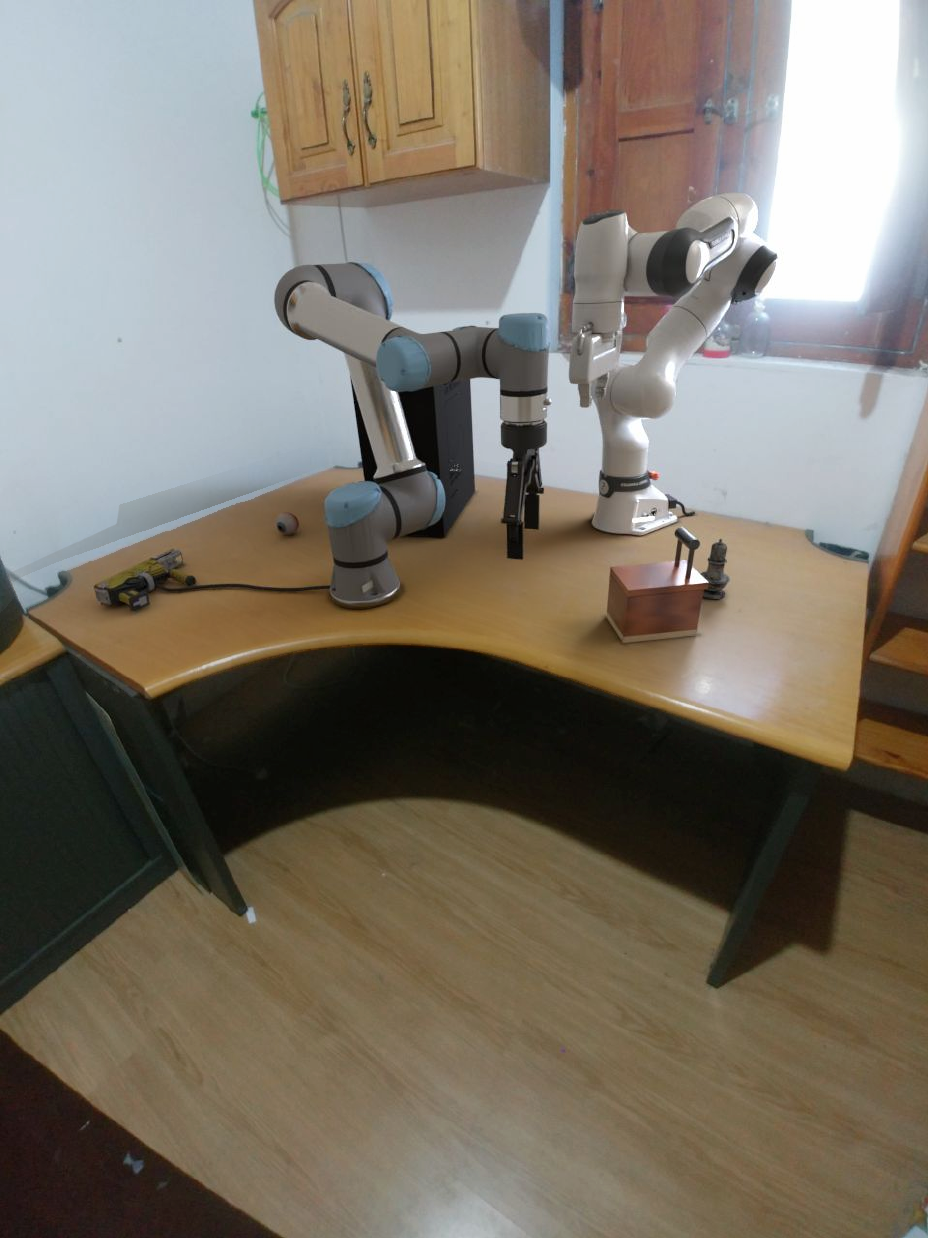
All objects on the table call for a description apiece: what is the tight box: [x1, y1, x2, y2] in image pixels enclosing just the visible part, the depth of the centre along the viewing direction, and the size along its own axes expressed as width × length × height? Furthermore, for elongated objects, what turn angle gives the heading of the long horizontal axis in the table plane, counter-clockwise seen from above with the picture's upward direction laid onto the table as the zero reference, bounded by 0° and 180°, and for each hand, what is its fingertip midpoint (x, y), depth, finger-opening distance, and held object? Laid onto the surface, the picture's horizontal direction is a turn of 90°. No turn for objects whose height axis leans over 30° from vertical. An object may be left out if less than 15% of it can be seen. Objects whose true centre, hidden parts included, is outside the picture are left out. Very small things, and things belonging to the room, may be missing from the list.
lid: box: [609, 526, 709, 597], centre depth 107 cm, size 14×10×9 cm
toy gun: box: [93, 548, 197, 612], centre depth 139 cm, size 5×24×15 cm
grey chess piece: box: [699, 538, 731, 600], centre depth 121 cm, size 6×6×12 cm
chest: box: [605, 573, 704, 644], centre depth 112 cm, size 14×10×10 cm
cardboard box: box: [349, 375, 476, 538], centre depth 164 cm, size 38×20×45 cm, turn 167°
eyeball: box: [275, 511, 300, 536], centre depth 163 cm, size 6×6×6 cm
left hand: (523, 542), depth 108 cm, fingers open, 13 cm apart
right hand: (593, 401), depth 114 cm, fingers open, 8 cm apart
